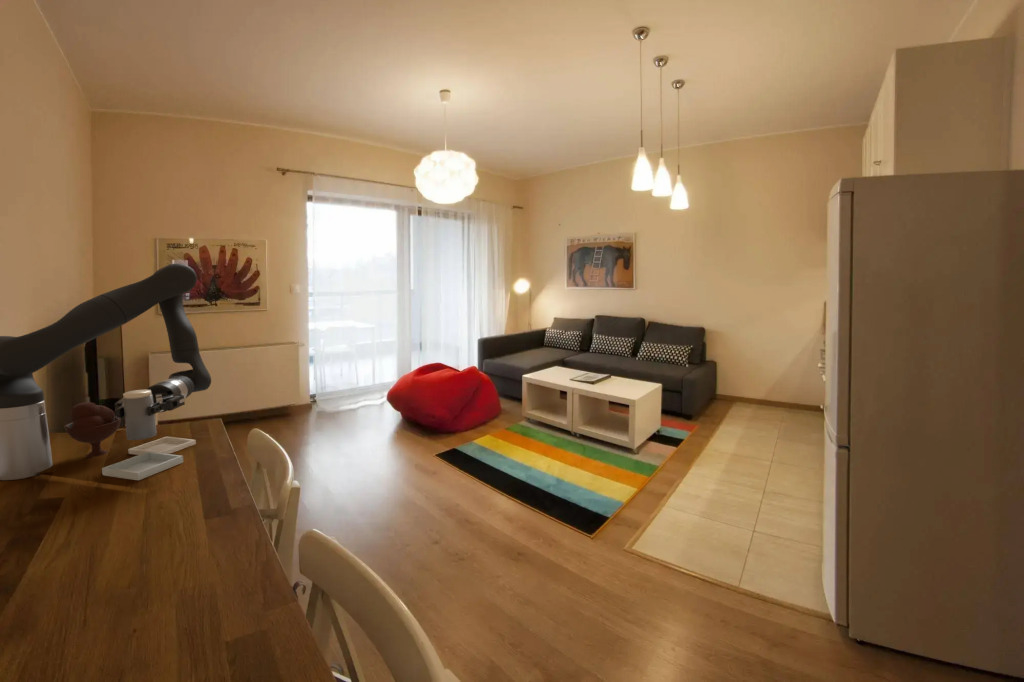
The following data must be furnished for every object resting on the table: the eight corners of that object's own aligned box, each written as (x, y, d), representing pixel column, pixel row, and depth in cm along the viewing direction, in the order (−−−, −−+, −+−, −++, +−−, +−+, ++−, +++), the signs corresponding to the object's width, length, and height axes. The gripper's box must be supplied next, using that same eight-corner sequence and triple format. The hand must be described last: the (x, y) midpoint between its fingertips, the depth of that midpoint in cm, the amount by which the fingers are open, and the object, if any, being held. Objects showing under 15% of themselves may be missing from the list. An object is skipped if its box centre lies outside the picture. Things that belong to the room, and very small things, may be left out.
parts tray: (129, 456, 120) (128, 449, 120) (167, 443, 130) (166, 436, 130) (159, 460, 118) (158, 453, 117) (196, 446, 128) (195, 439, 127)
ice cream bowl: (99, 465, 114) (92, 407, 112) (56, 464, 115) (49, 406, 113) (134, 449, 125) (129, 396, 123) (95, 449, 125) (89, 396, 123)
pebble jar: (121, 439, 108) (115, 394, 106) (145, 431, 113) (140, 388, 112) (139, 441, 107) (134, 395, 105) (162, 433, 112) (158, 390, 110)
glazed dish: (102, 478, 107) (101, 468, 106) (150, 460, 117) (149, 451, 117) (138, 483, 104) (137, 473, 104) (183, 465, 115) (182, 455, 114)
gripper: (133, 382, 120) (94, 399, 104) (195, 379, 124) (167, 395, 108) (136, 410, 121) (98, 430, 105) (197, 406, 125) (171, 425, 109)
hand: (134, 412), depth 107 cm, fingers closed on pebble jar, 5 cm apart
